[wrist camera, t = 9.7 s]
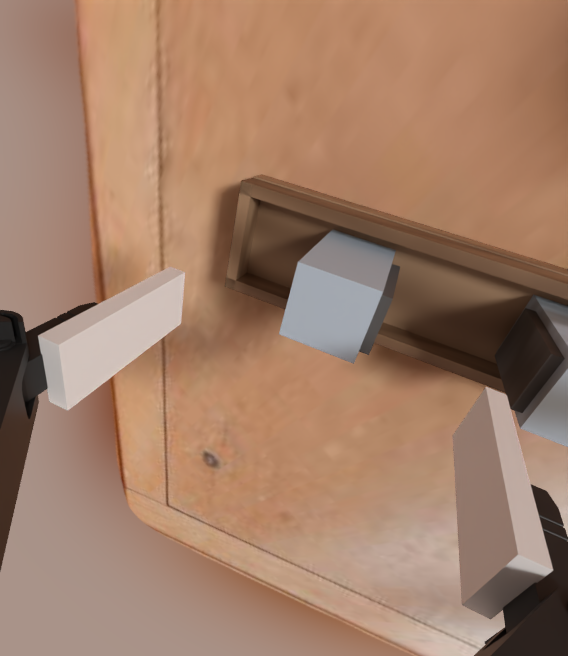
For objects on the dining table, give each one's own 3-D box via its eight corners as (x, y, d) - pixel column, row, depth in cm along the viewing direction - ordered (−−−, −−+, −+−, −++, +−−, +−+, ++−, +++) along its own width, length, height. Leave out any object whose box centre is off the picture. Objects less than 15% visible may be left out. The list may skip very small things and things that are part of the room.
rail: (262, 174, 27) (191, 190, 19) (651, 295, 22) (773, 382, 14) (244, 273, 31) (180, 320, 23) (569, 393, 26) (629, 503, 19)
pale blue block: (332, 229, 26) (298, 261, 19) (404, 253, 25) (395, 296, 18) (315, 287, 28) (278, 334, 21) (380, 310, 27) (364, 367, 20)
